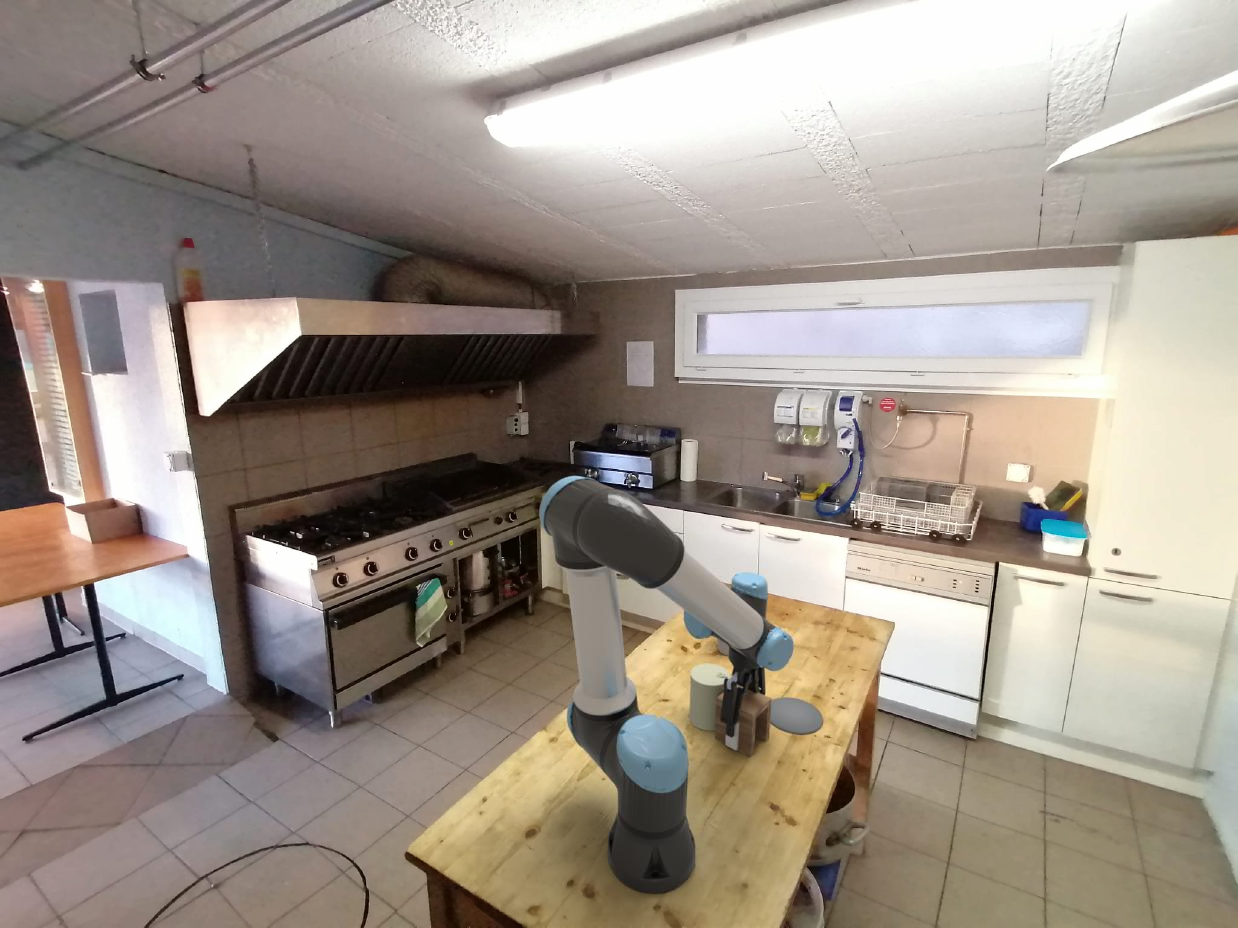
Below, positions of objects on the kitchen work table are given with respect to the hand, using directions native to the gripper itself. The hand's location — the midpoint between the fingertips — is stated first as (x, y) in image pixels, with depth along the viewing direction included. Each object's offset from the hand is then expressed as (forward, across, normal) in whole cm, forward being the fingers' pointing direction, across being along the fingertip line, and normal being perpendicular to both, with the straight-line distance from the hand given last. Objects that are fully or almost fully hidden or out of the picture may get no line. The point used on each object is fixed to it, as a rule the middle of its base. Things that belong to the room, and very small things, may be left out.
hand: (742, 736), depth 132 cm
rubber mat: (0, +15, -5) cm, 16 cm away
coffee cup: (+1, +31, +22) cm, 38 cm away
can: (+1, +1, +10) cm, 10 cm away
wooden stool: (0, 0, 0) cm, 0 cm away
